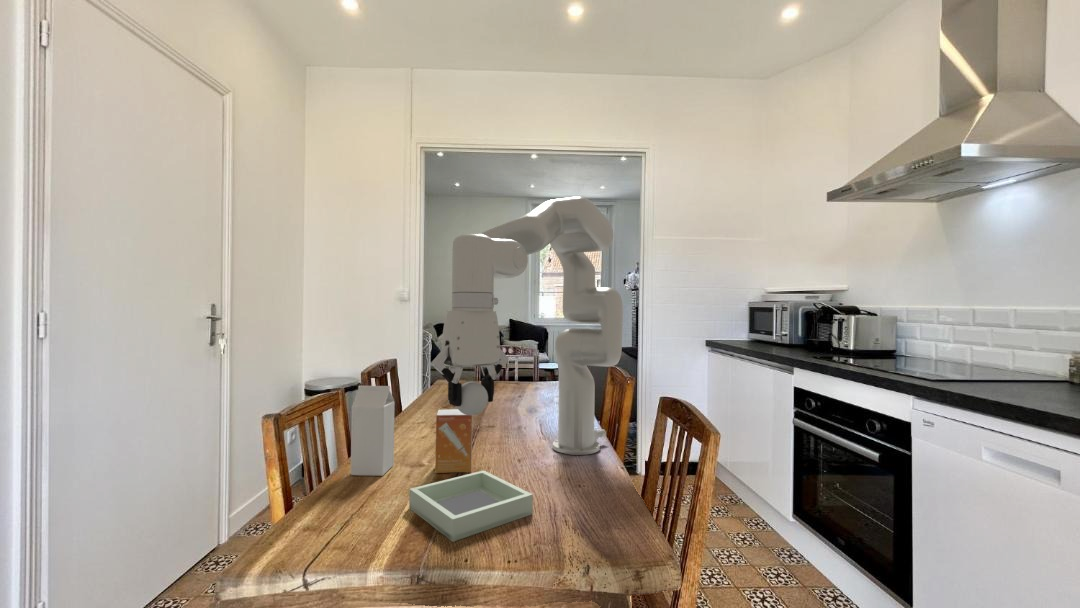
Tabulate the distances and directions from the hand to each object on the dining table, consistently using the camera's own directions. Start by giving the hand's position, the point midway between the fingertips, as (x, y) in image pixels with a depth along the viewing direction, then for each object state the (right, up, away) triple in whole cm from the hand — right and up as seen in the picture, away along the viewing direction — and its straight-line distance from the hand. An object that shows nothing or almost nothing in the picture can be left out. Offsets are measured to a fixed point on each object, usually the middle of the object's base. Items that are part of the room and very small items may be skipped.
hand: (471, 401), depth 84 cm
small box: (-7, -20, +22) cm, 31 cm away
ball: (0, +1, 0) cm, 1 cm away
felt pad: (0, -20, 0) cm, 20 cm away
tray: (0, -20, 0) cm, 20 cm away
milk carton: (-25, -20, +20) cm, 38 cm away
